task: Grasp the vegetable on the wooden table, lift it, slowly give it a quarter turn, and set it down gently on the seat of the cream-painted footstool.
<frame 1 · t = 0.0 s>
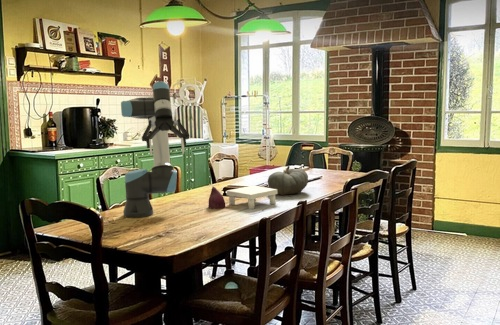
hand: (167, 153, 207), 36 cm above the table, fingers open, 13 cm apart
gourd: (287, 193, 301), on the table
vegetable: (217, 207, 267), on the table
footstool: (252, 204, 272), on the table
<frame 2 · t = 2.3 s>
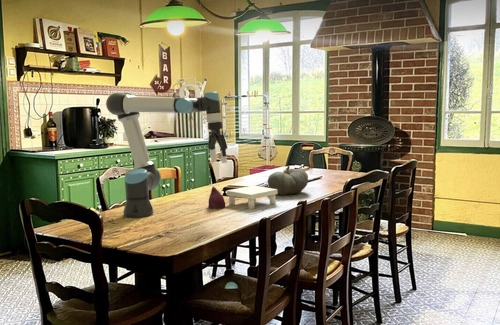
hand: (219, 162, 256), 26 cm above the table, fingers open, 13 cm apart
nothing on the table moved.
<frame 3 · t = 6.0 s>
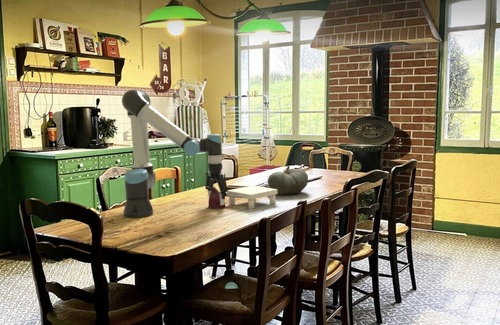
hand: (216, 203, 267), 2 cm above the table, fingers closed on vegetable, 9 cm apart
vegetable: (217, 207, 267), on the table, touching gripper
everything else where it was.
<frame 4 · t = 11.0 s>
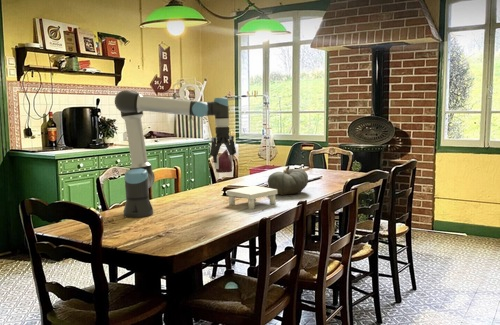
hand: (223, 167, 265), 21 cm above the table, fingers closed on vegetable, 9 cm apart
vegetable: (223, 171, 266), point 19 cm above the table, touching gripper
everything else where it was.
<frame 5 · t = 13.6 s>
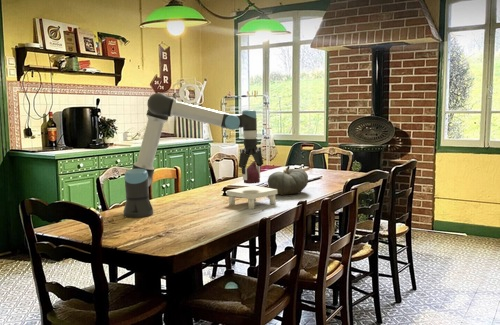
hand: (251, 178, 270), 14 cm above the table, fingers closed on vegetable, 9 cm apart
vegetable: (251, 182, 271), point 12 cm above the table, touching gripper
everything else where it was.
when the fingers open (10 cm above the table, at t = 16.0 s): vegetable stays where it is, resting on footstool.
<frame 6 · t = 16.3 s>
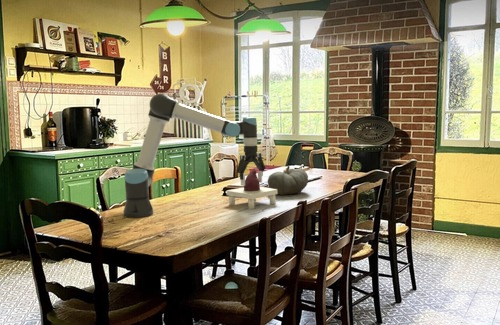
hand: (251, 183, 271), 11 cm above the table, fingers open, 12 cm apart
vegetable: (251, 190, 271), point 8 cm above the table, touching footstool
everything else where it was.
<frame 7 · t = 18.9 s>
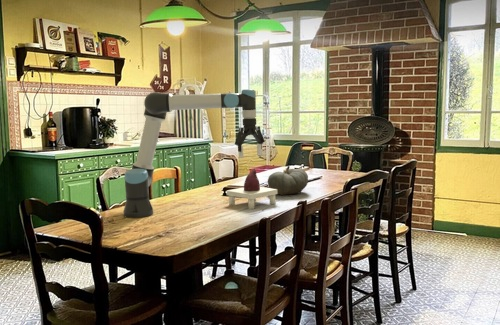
hand: (250, 156, 269), 27 cm above the table, fingers open, 13 cm apart
nothing on the table moved.
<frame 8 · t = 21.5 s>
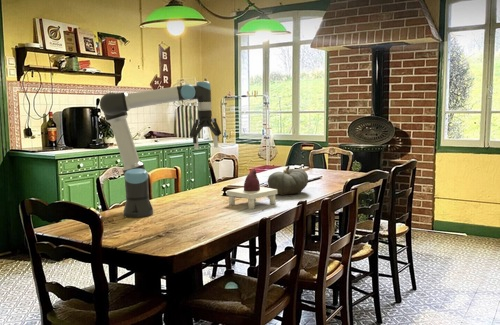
hand: (206, 148, 272), 32 cm above the table, fingers open, 13 cm apart
nothing on the table moved.
at the end: vegetable inside the target area on the footstool (0.0 cm from its centre), point 7.8 cm above the footstool's base; vegetable tilted 0°; the gripper is holding nothing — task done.
